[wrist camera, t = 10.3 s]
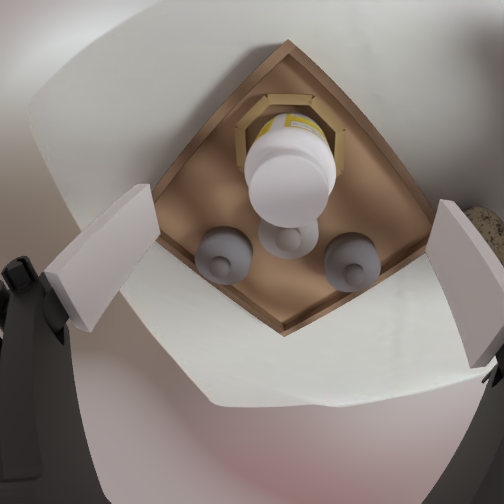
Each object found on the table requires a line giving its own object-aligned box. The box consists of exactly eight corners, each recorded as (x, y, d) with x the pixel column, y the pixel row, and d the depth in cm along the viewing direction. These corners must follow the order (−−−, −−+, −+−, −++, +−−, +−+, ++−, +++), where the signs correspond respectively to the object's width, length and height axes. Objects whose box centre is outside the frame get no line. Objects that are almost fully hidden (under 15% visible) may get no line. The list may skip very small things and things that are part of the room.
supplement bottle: (269, 181, 24) (250, 247, 16) (250, 120, 21) (217, 155, 13) (332, 168, 22) (349, 231, 14) (317, 105, 19) (331, 128, 11)
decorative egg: (450, 252, 26) (485, 318, 18) (436, 211, 24) (480, 276, 16) (490, 228, 23) (533, 287, 15) (479, 185, 21) (534, 240, 13)
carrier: (289, 42, 18) (286, 34, 14) (438, 223, 24) (457, 251, 20) (142, 209, 29) (119, 234, 25) (285, 321, 36) (282, 353, 32)
